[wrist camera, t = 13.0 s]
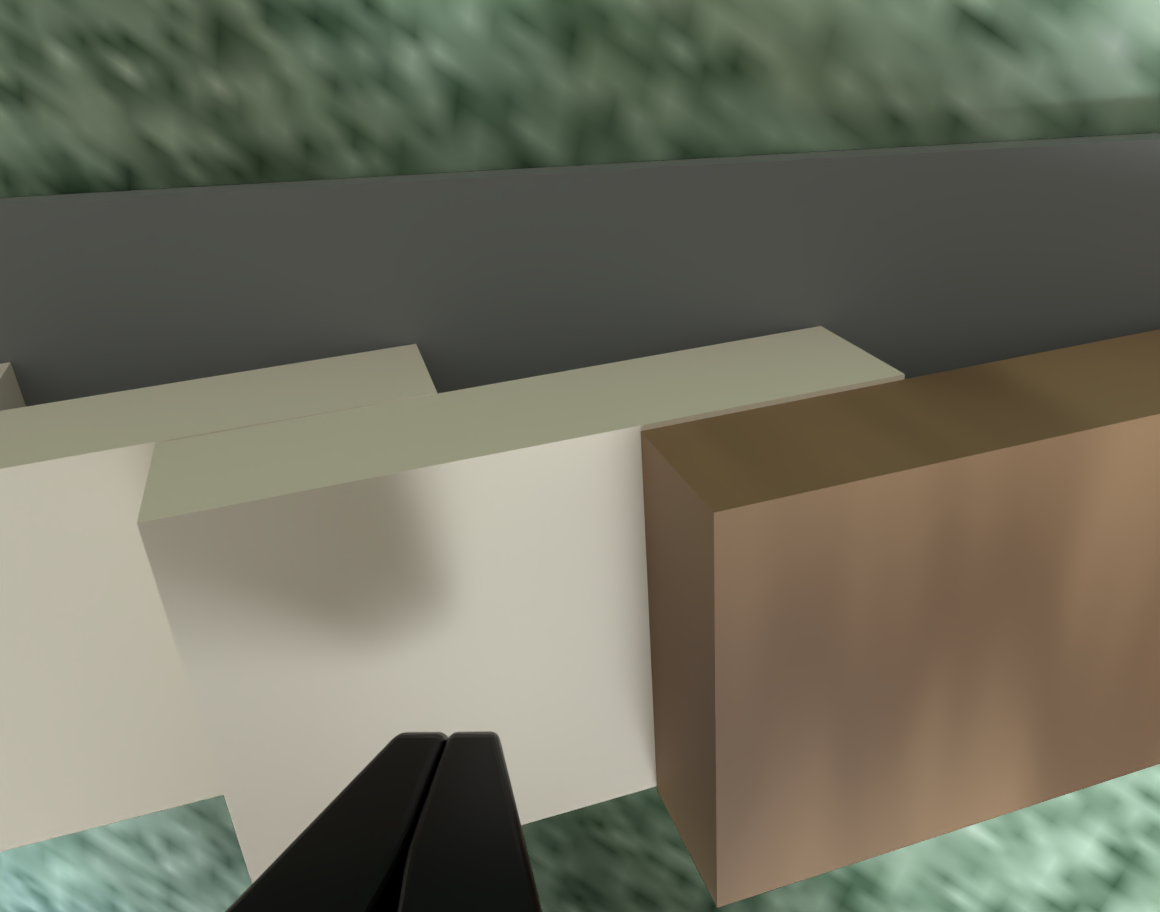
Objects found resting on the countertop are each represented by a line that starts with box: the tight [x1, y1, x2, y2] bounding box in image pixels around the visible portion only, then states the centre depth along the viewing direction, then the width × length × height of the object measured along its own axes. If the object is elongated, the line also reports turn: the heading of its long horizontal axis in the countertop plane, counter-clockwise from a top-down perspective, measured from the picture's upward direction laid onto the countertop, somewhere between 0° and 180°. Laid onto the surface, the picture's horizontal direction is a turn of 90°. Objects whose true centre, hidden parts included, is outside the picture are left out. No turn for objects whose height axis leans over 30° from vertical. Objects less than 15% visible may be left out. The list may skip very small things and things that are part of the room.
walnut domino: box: [641, 329, 1160, 908], centre depth 10 cm, size 4×2×7 cm
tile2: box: [137, 326, 905, 883], centre depth 10 cm, size 4×2×7 cm
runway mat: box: [0, 133, 1160, 407], centre depth 12 cm, size 8×23×1 cm, turn 94°
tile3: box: [0, 344, 437, 852], centre depth 11 cm, size 4×2×7 cm
